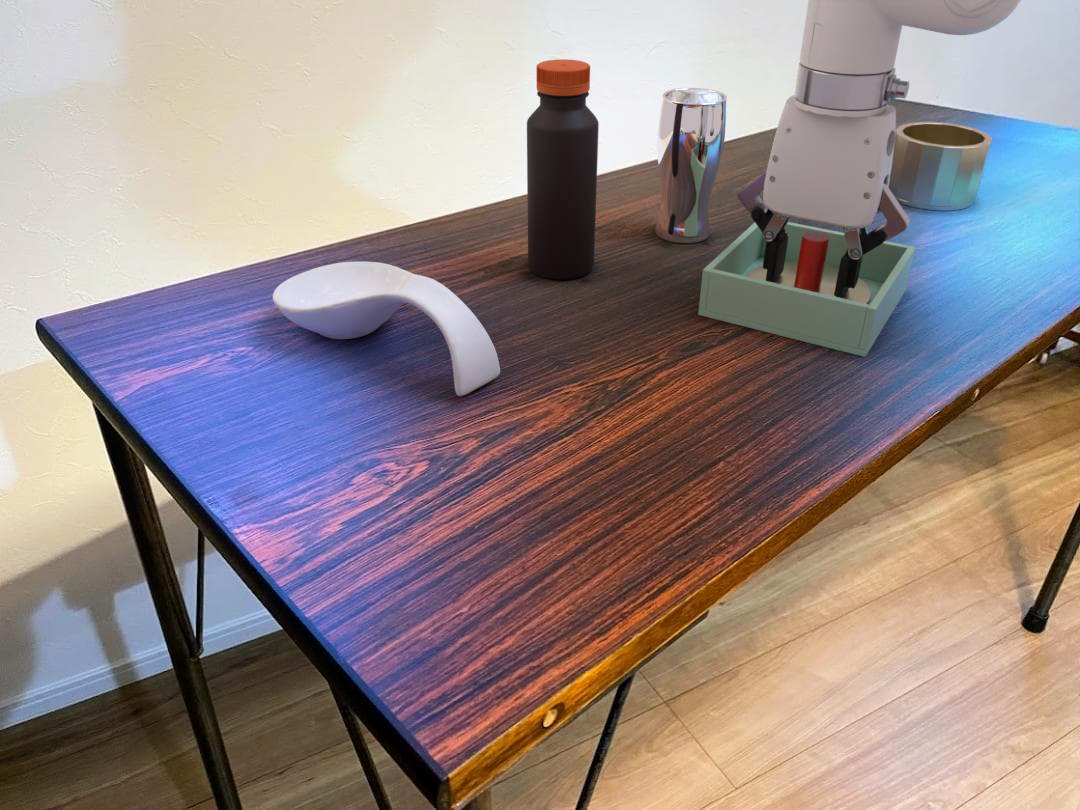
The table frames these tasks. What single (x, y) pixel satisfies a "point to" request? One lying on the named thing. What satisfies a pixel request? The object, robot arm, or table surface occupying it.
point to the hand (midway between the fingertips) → (807, 283)
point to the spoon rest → (387, 311)
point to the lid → (814, 271)
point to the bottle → (562, 172)
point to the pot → (938, 165)
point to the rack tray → (805, 292)
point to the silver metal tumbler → (689, 161)
